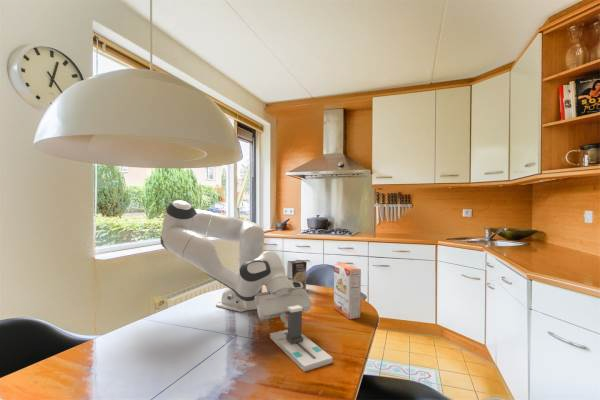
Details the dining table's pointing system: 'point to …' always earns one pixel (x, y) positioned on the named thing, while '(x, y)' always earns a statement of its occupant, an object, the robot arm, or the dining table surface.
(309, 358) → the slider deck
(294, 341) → the fader tab
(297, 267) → the coffee box
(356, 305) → the cracker box
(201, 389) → the dining table surface
